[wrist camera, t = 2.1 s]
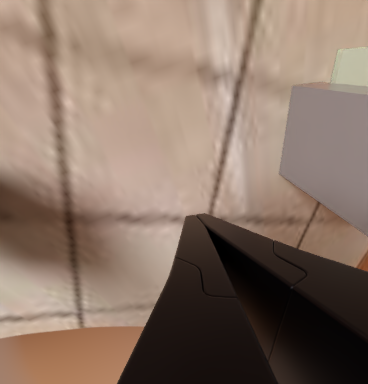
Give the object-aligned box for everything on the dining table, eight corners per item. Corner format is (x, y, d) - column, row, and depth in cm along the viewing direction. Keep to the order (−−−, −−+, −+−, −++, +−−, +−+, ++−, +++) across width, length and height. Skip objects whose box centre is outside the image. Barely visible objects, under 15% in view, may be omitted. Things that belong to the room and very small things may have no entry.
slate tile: (279, 173, 25) (416, 270, 13) (292, 85, 21) (518, 113, 9) (305, 168, 26) (460, 257, 14) (324, 81, 21) (578, 103, 9)
